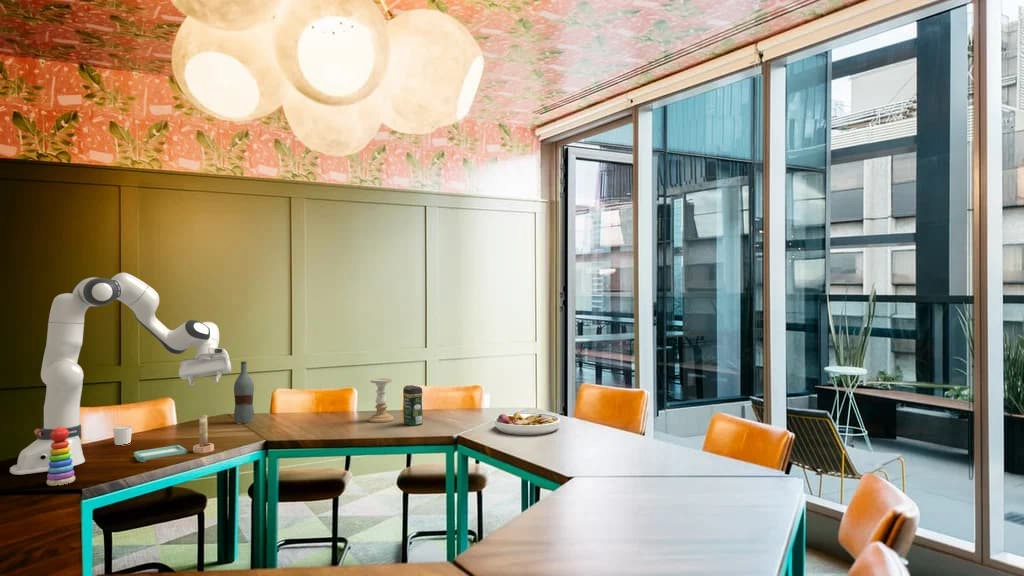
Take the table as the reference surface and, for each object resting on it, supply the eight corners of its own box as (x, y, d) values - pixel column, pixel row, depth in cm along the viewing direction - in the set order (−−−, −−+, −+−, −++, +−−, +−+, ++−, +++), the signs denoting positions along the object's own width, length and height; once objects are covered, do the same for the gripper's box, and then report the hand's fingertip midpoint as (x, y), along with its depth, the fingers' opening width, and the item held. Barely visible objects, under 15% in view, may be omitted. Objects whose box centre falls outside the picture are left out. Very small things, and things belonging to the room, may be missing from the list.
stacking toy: (76, 478, 220) (76, 423, 220) (73, 484, 213) (73, 428, 213) (48, 481, 216) (48, 426, 217) (44, 488, 209) (44, 430, 209)
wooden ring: (196, 455, 249) (196, 448, 250) (191, 452, 255) (191, 445, 255) (215, 452, 254) (215, 445, 254) (210, 449, 259) (210, 442, 259)
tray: (140, 462, 240) (140, 456, 240) (133, 457, 248) (133, 451, 248) (186, 455, 251) (186, 449, 251) (178, 450, 259) (178, 444, 259)
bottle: (246, 424, 310) (246, 362, 310) (229, 424, 311) (229, 362, 312) (257, 420, 319) (257, 360, 319) (241, 420, 320) (240, 360, 321)
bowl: (542, 421, 313) (542, 405, 313) (571, 433, 285) (571, 415, 285) (485, 426, 301) (485, 409, 301) (509, 439, 274) (509, 421, 274)
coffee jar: (400, 423, 308) (400, 385, 309) (415, 421, 313) (415, 383, 313) (410, 426, 301) (410, 387, 301) (425, 424, 306) (425, 385, 306)
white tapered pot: (123, 446, 267) (123, 429, 267) (109, 445, 269) (109, 429, 269) (136, 442, 274) (135, 426, 274) (122, 441, 275) (122, 425, 275)
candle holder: (363, 422, 313) (363, 380, 313) (376, 417, 325) (376, 377, 325) (386, 423, 309) (385, 381, 309) (398, 418, 321) (398, 378, 321)
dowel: (200, 452, 252) (200, 416, 253) (198, 450, 255) (198, 415, 255) (208, 450, 254) (208, 415, 254) (206, 449, 256) (206, 414, 257)
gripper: (178, 356, 270) (174, 384, 262) (228, 348, 273) (226, 376, 265) (183, 364, 275) (180, 391, 267) (233, 356, 278) (231, 383, 270)
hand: (203, 383), depth 266 cm, fingers open, 8 cm apart
